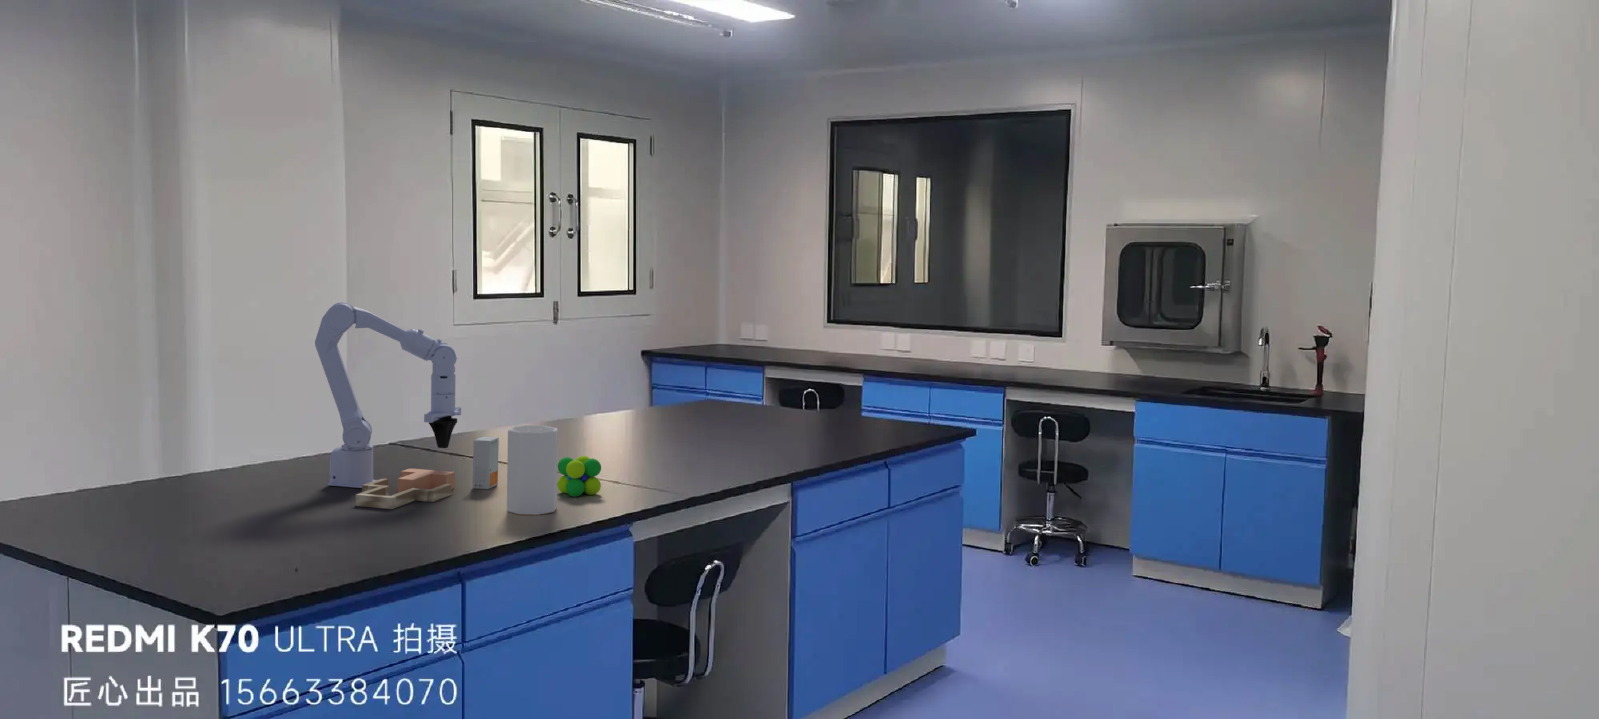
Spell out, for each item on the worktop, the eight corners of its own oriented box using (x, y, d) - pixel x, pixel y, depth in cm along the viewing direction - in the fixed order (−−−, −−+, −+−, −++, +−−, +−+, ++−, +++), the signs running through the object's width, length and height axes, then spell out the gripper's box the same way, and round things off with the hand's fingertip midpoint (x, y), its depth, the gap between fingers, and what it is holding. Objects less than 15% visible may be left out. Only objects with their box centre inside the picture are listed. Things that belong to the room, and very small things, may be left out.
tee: (382, 494, 268) (382, 477, 268) (409, 484, 280) (409, 468, 279) (429, 498, 266) (429, 481, 265) (454, 488, 277) (454, 472, 277)
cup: (512, 517, 250) (514, 433, 248) (501, 506, 260) (502, 425, 258) (562, 513, 255) (564, 431, 253) (549, 503, 265) (551, 424, 263)
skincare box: (488, 489, 277) (489, 441, 276) (472, 488, 277) (472, 439, 276) (498, 485, 283) (499, 437, 282) (482, 483, 283) (482, 436, 282)
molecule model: (570, 499, 270) (603, 495, 276) (571, 462, 269) (604, 459, 275) (554, 492, 277) (586, 488, 282) (554, 456, 276) (587, 453, 282)
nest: (337, 504, 256) (337, 493, 256) (382, 488, 273) (382, 478, 273) (410, 510, 252) (411, 499, 252) (451, 494, 270) (451, 484, 270)
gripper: (443, 397, 273) (442, 453, 275) (472, 390, 288) (471, 444, 289) (416, 395, 275) (416, 451, 276) (446, 389, 289) (446, 442, 290)
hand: (442, 447), depth 283 cm, fingers closed
